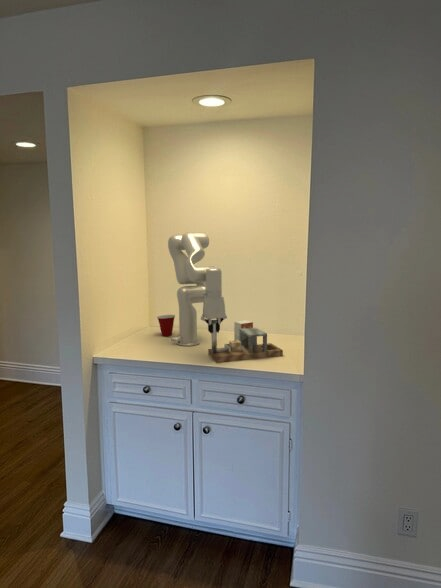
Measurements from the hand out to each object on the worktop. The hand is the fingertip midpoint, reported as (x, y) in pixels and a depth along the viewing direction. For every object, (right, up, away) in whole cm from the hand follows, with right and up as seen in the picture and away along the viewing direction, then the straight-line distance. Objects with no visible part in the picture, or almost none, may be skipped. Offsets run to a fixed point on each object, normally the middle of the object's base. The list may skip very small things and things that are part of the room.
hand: (214, 331), depth 205 cm
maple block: (+10, -10, +5) cm, 15 cm away
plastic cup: (-29, -7, +49) cm, 57 cm away
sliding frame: (+6, -9, +3) cm, 12 cm away
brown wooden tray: (+15, -12, +7) cm, 21 cm away
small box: (+15, -10, +26) cm, 31 cm away
